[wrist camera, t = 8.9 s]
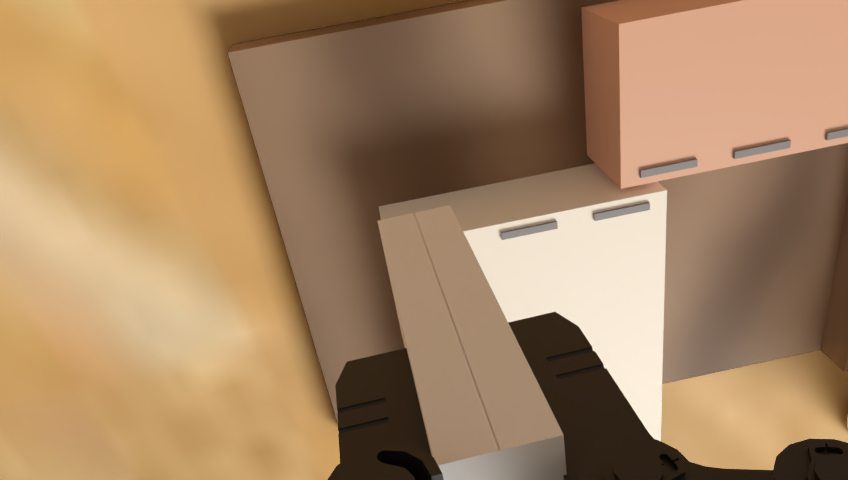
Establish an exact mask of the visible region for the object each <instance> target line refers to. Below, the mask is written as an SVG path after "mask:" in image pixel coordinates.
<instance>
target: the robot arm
mask: <svg viewBox="0 0 848 480" xmlns="http://www.w3.org/2000/svg"><path fill="white" fill-rule="evenodd" d="M378 226H379V231H380V235H381V240H382V245H383V249H384V254H385V259H386V263H387V268H388V273H389V278H390V282H391V287H392V292H393V296H394V301H395V306H396V310H397V315H398V320H399V324H400V329H401V333H402V338H403V342H404V346H405V348H404V349H400V350H395V351H391V352H387V353H382V354H378V355H374V356H369V357H365V358H361V359H356V360H352V361H347V362H346V364H345V366H344V368H343V370H342V372H341V374H340V377H339V379H338V381H337V383H336V385H335V387H336V402H337V411H338V414H337V417H338V430H339V448H340V464H339V465H338V466H337V467H336V468H335V469H334V471H333V472H332V474H331V475H330V477H329V478H328V480H848V443H846V442H842V441H838V440H834V439H808V440H804V441H801V442H797V443H794V444H790V445H789V446H788V447H786V448H785V449H784V450H783V451H782V452H781V453H780V454H779V455H778V456H777V457H776V461H775V465H774V469H773V470H743V469H721V468H712V467H705V466H701V465H698V464H695V463H691V462H689V461H688V460H687V459H686V458H685V457H684V456H683V455H682V454H681V453H680V452H679V451H678V450H677V449H675V448H673V447H671V446H669V445H667V444H665V443H663V442H661V441H659V440H656V439H654V438H653V437H652V436H651V435H650V434H649V432H648V431H647V429H646V428H645V426H644V425H643V423H642V422H641V420H640V419H639V417H638V416H637V414H636V413H635V411H634V410H633V408H632V407H631V405H630V404H629V402H628V401H627V399H626V397H625V396H624V394H623V393H622V391H621V390H620V388H619V387H618V385H617V384H616V382H615V381H614V379H613V378H612V376H611V375H610V373H609V372H608V370H607V369H606V368H604V365H603V363H602V361H601V360H600V358H599V356H598V355H597V353H596V352H595V351H593V349H592V346H591V344H590V343H589V341H588V340H587V338H586V337H585V335H584V334H583V332H582V331H581V329H580V328H579V326H577V325H576V324H574V323H572V322H571V321H569V320H568V319H566V318H564V317H563V316H561V315H560V314H558V313H556V312H552V313H547V314H543V315H539V316H534V317H530V318H526V319H521V320H517V321H512V322H508V321H507V319H506V317H505V315H504V313H503V311H502V309H501V307H500V305H499V303H498V301H497V299H496V297H495V295H494V293H493V291H492V289H491V287H490V285H489V283H488V281H487V279H486V277H485V275H484V273H483V271H482V269H481V267H480V265H479V263H478V261H477V258H476V256H475V254H474V252H473V250H472V248H471V246H470V244H469V242H468V240H467V238H466V236H465V234H464V232H463V230H462V228H461V226H460V224H459V222H458V220H457V218H456V216H455V214H454V212H453V210H452V208H451V206H450V205H448V206H444V207H439V208H434V209H430V210H425V211H420V212H416V213H411V214H406V215H402V216H397V217H392V218H388V219H383V220H378Z"/></svg>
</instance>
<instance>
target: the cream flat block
mask: <svg viewBox="0 0 848 480" xmlns="http://www.w3.org/2000/svg"><path fill="white" fill-rule="evenodd" d="M448 205H450V206H451V208H452V210H453V212H454V214H455V216H456V218H457V220H458V222H459V224H460V226H461V228H462V230H463V232H464V234H465V236H466V238H467V240H468V242H469V244H470V246H471V248H472V250H473V252H474V254H475V256H476V258H477V261H478V263H479V265H480V267H481V269H482V271H483V273H484V275H485V277H486V279H487V281H488V283H489V285H490V287H491V289H492V291H493V293H494V295H495V297H496V299H497V301H498V303H499V305H500V307H501V309H502V311H503V313H504V315H505V317H506V319H507V321H508V322H512V321H517V320H521V319H526V318H530V317H534V316H539V315H543V314H547V313H552V312H556V313H558V314H560V315H561V316H563V317H564V318H566V319H568V320H569V321H571V322H572V323H574V324H576V325H577V326H579V328H580V329H581V331H582V332H583V334H584V335H585V337H586V338H587V340H588V341H589V343H590V344H591V346H592V349H593V351H595V352H596V353H597V355H598V356H599V358H600V360H601V361H602V363H603V365H604V368H606V369H607V370H608V372H609V373H610V375H611V376H612V378H613V379H614V381H615V382H616V384H617V385H618V387H619V388H620V390H621V391H622V393H623V394H624V396H625V397H626V399H627V401H628V402H629V404H630V405H631V407H632V408H633V410H634V411H635V413H636V414H637V416H638V417H639V419H640V420H641V422H642V423H643V425H644V426H645V428H646V429H647V431H648V432H649V434H650V435H651V436H652V437H653V438H654V439H656V440H659V441H661V408H662V369H663V330H664V291H665V253H666V214H667V190H666V189H665V188H664V187H663V186H662V185H661V184H659V183H658V182H652V183H647V184H642V185H637V186H632V187H627V188H622V189H621V188H620V187H619V186H618V185H617V184H616V183H615V182H614V181H613V180H612V179H611V178H610V177H609V176H608V175H607V174H606V173H605V172H604V171H603V170H602V169H601V168H600V167H599V166H598V165H597V164H596V163H594V164H589V165H584V166H579V167H574V168H569V169H564V170H559V171H554V172H549V173H544V174H539V175H534V176H529V177H524V178H519V179H514V180H509V181H504V182H499V183H494V184H489V185H484V186H479V187H474V188H469V189H464V190H459V191H454V192H449V193H444V194H439V195H434V196H429V197H424V198H419V199H414V200H409V201H404V202H399V203H394V204H389V205H384V206H379V212H380V217H381V220H383V219H388V218H392V217H397V216H402V215H406V214H411V213H416V212H420V211H425V210H430V209H434V208H439V207H444V206H448Z"/></svg>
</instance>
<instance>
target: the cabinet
mask: <svg viewBox="0 0 848 480" xmlns="http://www.w3.org/2000/svg"><path fill="white" fill-rule="evenodd" d="M581 11H582V37H583V63H584V89H585V114H586V140H587V156H588V157H589V158H590V159H591V160H593V161H594V162H595V163H596V164H597V165H598V166H599V167H600V168H601V169H602V170H603V171H604V172H605V173H606V174H607V175H608V176H609V177H610V178H611V179H612V180H613V181H614V182H615V183H616V184H617V185H618V186H619V187H620V188H621V189H622V188H627V187H632V186H637V185H642V184H647V183H652V182H657V181H662V180H667V179H672V178H677V177H682V176H687V175H692V174H696V173H701V172H706V171H711V170H716V169H721V168H726V167H731V166H736V165H741V164H746V163H751V162H756V161H761V160H766V159H771V158H775V157H780V156H785V155H790V154H795V153H800V152H805V151H810V150H815V149H820V148H825V147H830V146H835V145H840V144H845V143H848V0H618V1H613V2H608V3H603V4H597V5H592V6H587V7H581Z"/></svg>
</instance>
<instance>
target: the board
mask: <svg viewBox="0 0 848 480" xmlns="http://www.w3.org/2000/svg"><path fill="white" fill-rule="evenodd" d="M613 1H618V0H469V1H463V2H458V3H453V4H447V5H442V6H437V7H431V8H426V9H421V10H415V11H410V12H405V13H399V14H394V15H389V16H383V17H378V18H373V19H367V20H362V21H357V22H351V23H346V24H341V25H335V26H330V27H324V28H319V29H314V30H308V31H303V32H298V33H292V34H287V35H282V36H276V37H271V38H266V39H260V40H255V41H250V42H244V43H239V44H234V45H232V46H231V48H230V50H229V51H228V56H229V59H230V63H231V66H232V69H233V73H234V76H235V79H236V83H237V86H238V90H239V93H240V96H241V100H242V103H243V106H244V110H245V113H246V116H247V120H248V123H249V127H250V130H251V133H252V137H253V140H254V143H255V147H256V150H257V153H258V157H259V160H260V164H261V167H262V170H263V174H264V177H265V180H266V184H267V187H268V190H269V194H270V197H271V201H272V204H273V207H274V211H275V214H276V217H277V221H278V224H279V227H280V231H281V234H282V238H283V241H284V244H285V248H286V251H287V254H288V258H289V261H290V264H291V268H292V271H293V275H294V278H295V281H296V285H297V288H298V291H299V295H300V298H301V301H302V305H303V308H304V312H305V315H306V318H307V322H308V325H309V328H310V332H311V335H312V338H313V342H314V345H315V349H316V352H317V355H318V359H319V362H320V365H321V369H322V372H323V375H324V379H325V382H326V386H327V389H328V392H329V396H330V399H331V402H332V406H333V409H334V412H335V416H336V419H337V423H338V417H337V414H338V411H337V402H336V387H335V385H336V383H337V381H338V379H339V377H340V374H341V372H342V370H343V368H344V366H345V364H346V362H347V361H352V360H356V359H361V358H365V357H369V356H374V355H378V354H382V353H387V352H391V351H395V350H400V349H404V348H405V346H404V342H403V338H402V333H401V329H400V324H399V320H398V315H397V310H396V306H395V301H394V296H393V292H392V287H391V282H390V278H389V273H388V268H387V263H386V259H385V254H384V249H383V245H382V240H381V235H380V231H379V226H378V220H381V217H380V212H379V206H384V205H389V204H394V203H399V202H404V201H409V200H414V199H419V198H424V197H429V196H434V195H439V194H444V193H449V192H454V191H459V190H464V189H469V188H474V187H479V186H484V185H489V184H494V183H499V182H504V181H509V180H514V179H519V178H524V177H529V176H534V175H539V174H544V173H549V172H554V171H559V170H564V169H569V168H574V167H579V166H584V165H589V164H594V163H595V162H594V161H593V160H591V159H590V158H589V157H588V156H587V140H586V114H585V89H584V63H583V37H582V11H581V7H587V6H592V5H597V4H603V3H608V2H613ZM657 182H658V183H659V184H661V185H662V186H663V187H664V188H665V189H666V190H667V214H666V253H665V291H664V330H663V369H662V384H664V383H669V382H674V381H678V380H683V379H687V378H692V377H697V376H701V375H706V374H711V373H715V372H720V371H725V370H729V369H734V368H738V367H743V366H748V365H752V364H757V363H762V362H766V361H771V360H775V359H780V358H785V357H789V356H794V355H799V354H803V353H808V352H812V351H817V350H821V351H823V352H824V353H825V354H826V355H827V356H828V357H829V358H830V359H831V360H832V361H833V362H834V363H836V364H837V365H838V366H839V367H840V368H841V369H842V370H843V371H848V143H845V144H840V145H835V146H830V147H825V148H820V149H815V150H810V151H805V152H800V153H795V154H790V155H785V156H780V157H775V158H771V159H766V160H761V161H756V162H751V163H746V164H741V165H736V166H731V167H726V168H721V169H716V170H711V171H706V172H701V173H696V174H692V175H687V176H682V177H677V178H672V179H667V180H662V181H657Z"/></svg>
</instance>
